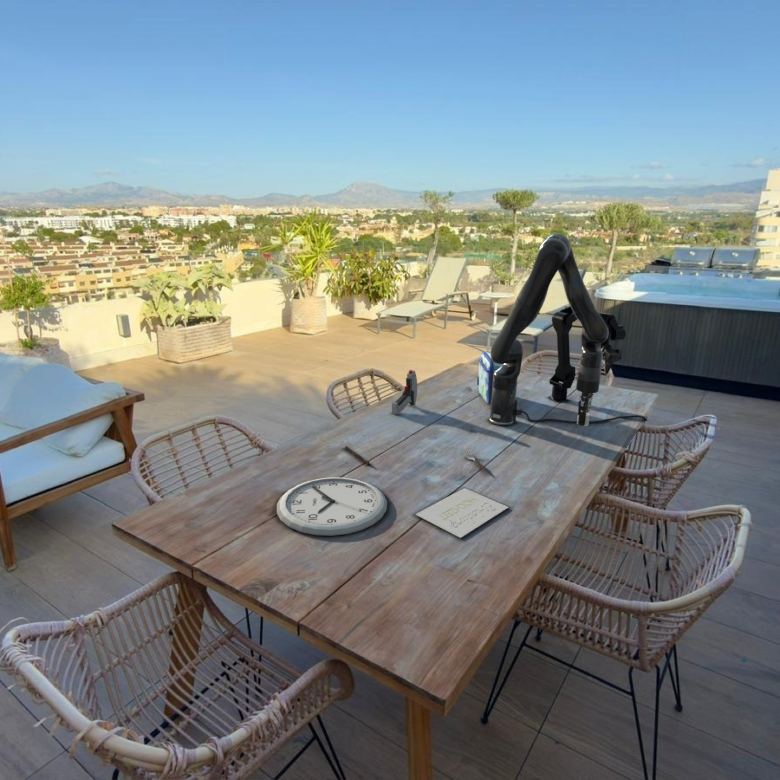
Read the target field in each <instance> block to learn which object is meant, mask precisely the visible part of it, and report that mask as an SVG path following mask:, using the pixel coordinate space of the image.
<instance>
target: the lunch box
mask: <svg viewBox="0 0 780 780" xmlns="http://www.w3.org/2000/svg"><path fill="white" fill-rule="evenodd" d="M501 366H502V364H497V363H495V362H493V361H492V359H491V355H490V351H482V352H481V354H480V358H479V360H478V377H477V381H476V384H477V385H476V386H478V393H479V395H480V396H481V397H482V399H483V400H484V402H485V404H487V405H488V406H489V405H490V406H491V398H492V385H493V374H494V372H495V371H496V370H498V369H499V368H500V367H501Z"/></svg>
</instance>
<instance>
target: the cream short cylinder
mask: <svg viewBox="0 0 780 780" xmlns="http://www.w3.org/2000/svg"><path fill="white" fill-rule="evenodd" d="M590 416H591V414H590V413H589V412H588V413H587V415H586V419H585V425H584V426H583V427H588V426H589V424H590V423H589V421H590V418H591V417H590ZM576 421H577V423H576V424H577V425H578V421H579V415H578V414H577V419H576ZM579 426H581V425H579ZM581 427H582V426H581Z"/></svg>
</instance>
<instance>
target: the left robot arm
mask: <svg viewBox="0 0 780 780" xmlns="http://www.w3.org/2000/svg"><path fill="white" fill-rule="evenodd" d="M557 272H558V273H559V276H560V279H561V282H562V286H563V289H564V293H565V297H566V300H567V302H568V304H569V307H571V309H572V311H573V313H574V315H575V316H576V318H577V320H578V321H579V322H580V324H581V326H582V328H581V335H580V343H581V345H580V346H581V355H580V361H579V367H578V370H577V378H576V385H575V386H576V387H575V389H576V391H578V392H580V395H579V397H578V409H577V416H578V415H579V421H578V424H577V420H566V419H557V418H542V419H535V420H534V419H531V418H530V416H529V414H528V413H527V412H526V411H524V410H523V409H522V408H521V407H520V406H518V399H517V388H518V378H519V376H520V374H521V368H522V362H523V357H524V356H523V355H524V354H523V353H524V349H523V344H522V342H521V341H520V340H519V339H518V337H519V336H520V334H522V332H523V331H524V330H526V329H527V328H528V327H530V325H531V324H532V323H533V322H534V321H535V320H536V319H537V317H538V315H539V313H540V312H541V309H542V308H543V306H544V303H545V301H546V298H547V296H548V295H547V294H548V293H549V287H550V285H551V282H552V281H553V279H554V277H555V276H556V274H557ZM598 312H599V311H598V310H597V308H596V305H595V303H594V301H593V299H592V296H591V295H590V293H589V290H588V289H587V287H586V284H585V282H584V280H583V277H582V275H581V273H580V270H579V268H578V264H577V262H576V259H575V255H574V251H573V248H572V244H571V241H570V240H569V238H568V237H567V236H566V235H564V234H562V233H553V234H551V235H549V236H548V237H547V238H546V239H545V240H544V241H543V243H541V244H540V247H539V249H538V251H537V254H536V257H535V260H534V264H533V266H532V269H531V272H530V274H529V276H528V277H527V279H526V281H525V282H524V284H523V285H522V287H521V289H520V291H519V292H518V294H517V296H516V298H515V301H514V303H513V305H512V308H511V310H510V312H509V314H508V316H507V318H506V320H505V322H504V324H503V326H502V328H501V329H500V330H499V332H498V334H497V336H496V337H495V339H494V341H493V342H492V345H491V347H490V351H489V352H490V355H491V359H492V361H493V362H495V363H497V364H502V366H501V367H500V368H499V369H498V370H496V371H495V372H494V374H493V385H492V398H491V404H490V410H489V411H490V413H489V414H490V415H489V422H490V423H491V424H494V425H497V426H511V425H513V424H516V423H517V416H522V415H525V416H526V419H527V421H529V422H531V423H539V422H540V423H541V422H549V421H550V422H560V423H567V424H577V426H580V425H581V427H585V426H584V425H585V419H586V415H587V413H589V412H590V409H591V408H592V407H591V406H592V401H593V399H594V398H593V397H594V394H596V393H598V392H599V389H600V384H601V383H600V382H601V375H602V364H603V358H602V357H603V353H602V350H601V347H600V346H601V343H603V342H604V341H605V340H606V339H607V338H608V334H609V331H608V328H607V325H606V324H605V322H604V320H603V319H602V317H601V316H600V314H599V313H598ZM631 418H639V419H642V420H644V421H646V422H648V419H647V418H646V417H645V416H643V415H639V414H632V415H619V416H615V417H611V418H605V419H600V420H589V424H599V423H604V422H610V421H615V420H618V419H619V420H620V419H631Z"/></svg>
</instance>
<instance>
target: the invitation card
mask: <svg viewBox="0 0 780 780" xmlns="http://www.w3.org/2000/svg"><path fill="white" fill-rule="evenodd" d="M507 509H509V506H507V505H505V504H503V503H501V502H498V501H495V500H493V499H490V498H488V497H486V496H485V495H482V494H480V493H477V492H475V491H472V490H470V489H468V488H465V487H464V488H461V489H460V490H458V491H456V492H454V493H452V494H451V495H448V496H447V497H445V498H444V499H441V500H440V501H437V502H435V503H434V504H432V505H430V506H428V507H426V508H424V509H422V510H421V511H419V512H417V513H415V514H414V515H415V516H416V517H419V518H421V519H422V520H425V521H427V522H428V523H430V524H432V525H434V526H436V527H437V528H440V529H442V530H443V531H446V532H447V533H449V534H451V535H453V536H455V537H457V538H459V539H462V538H464V537H465V536H466V535H468V534H469V533H472V532H473V531H475V530H476V529H477V528H479V527H480V526H482V525H484V524H485V523H487V522H488V521H490V520H491V519H493V518H495V517H496V516H498V515H500V514H501V513H502V512H504V511H506V510H507Z"/></svg>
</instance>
